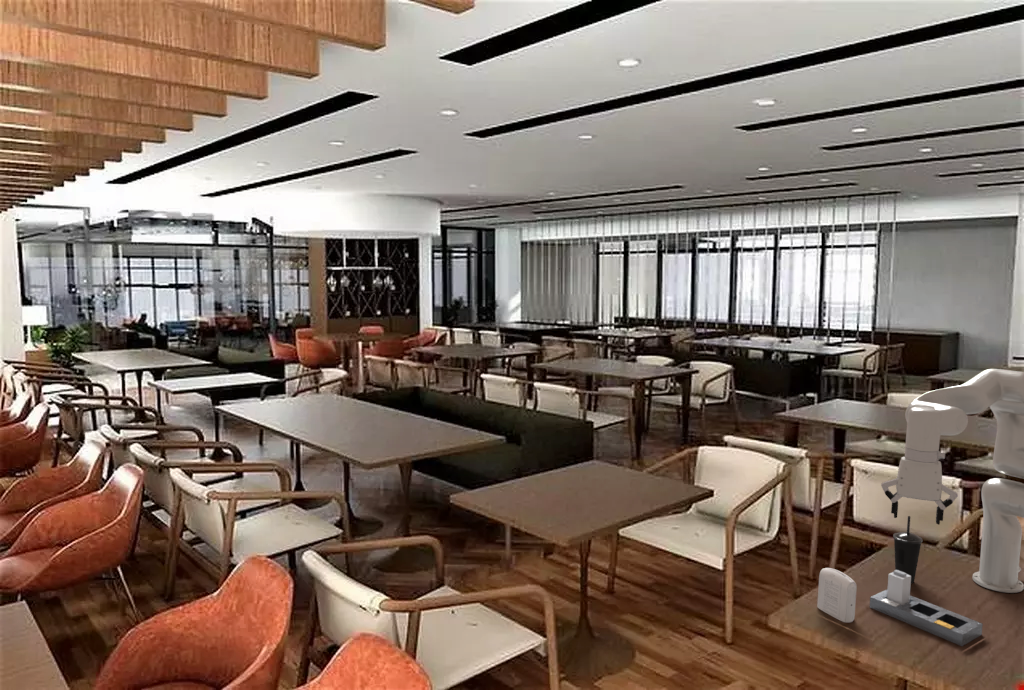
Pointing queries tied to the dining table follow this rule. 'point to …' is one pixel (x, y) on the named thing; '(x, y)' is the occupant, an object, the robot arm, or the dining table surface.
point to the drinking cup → (907, 551)
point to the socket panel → (929, 618)
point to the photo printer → (837, 594)
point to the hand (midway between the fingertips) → (916, 519)
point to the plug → (899, 587)
